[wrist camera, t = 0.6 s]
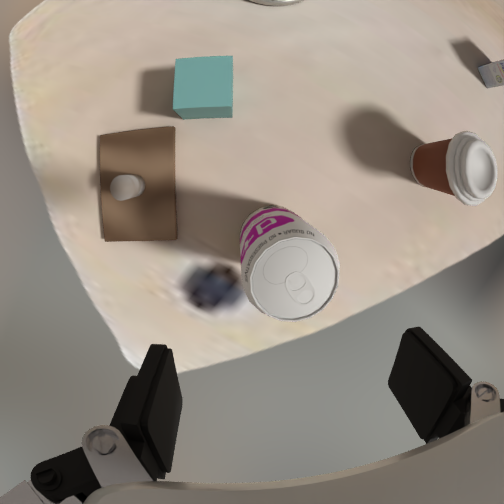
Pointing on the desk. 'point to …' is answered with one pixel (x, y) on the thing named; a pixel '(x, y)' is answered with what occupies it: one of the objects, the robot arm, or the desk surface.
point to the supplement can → (286, 265)
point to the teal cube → (203, 87)
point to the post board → (158, 185)
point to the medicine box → (493, 73)
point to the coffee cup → (457, 167)
